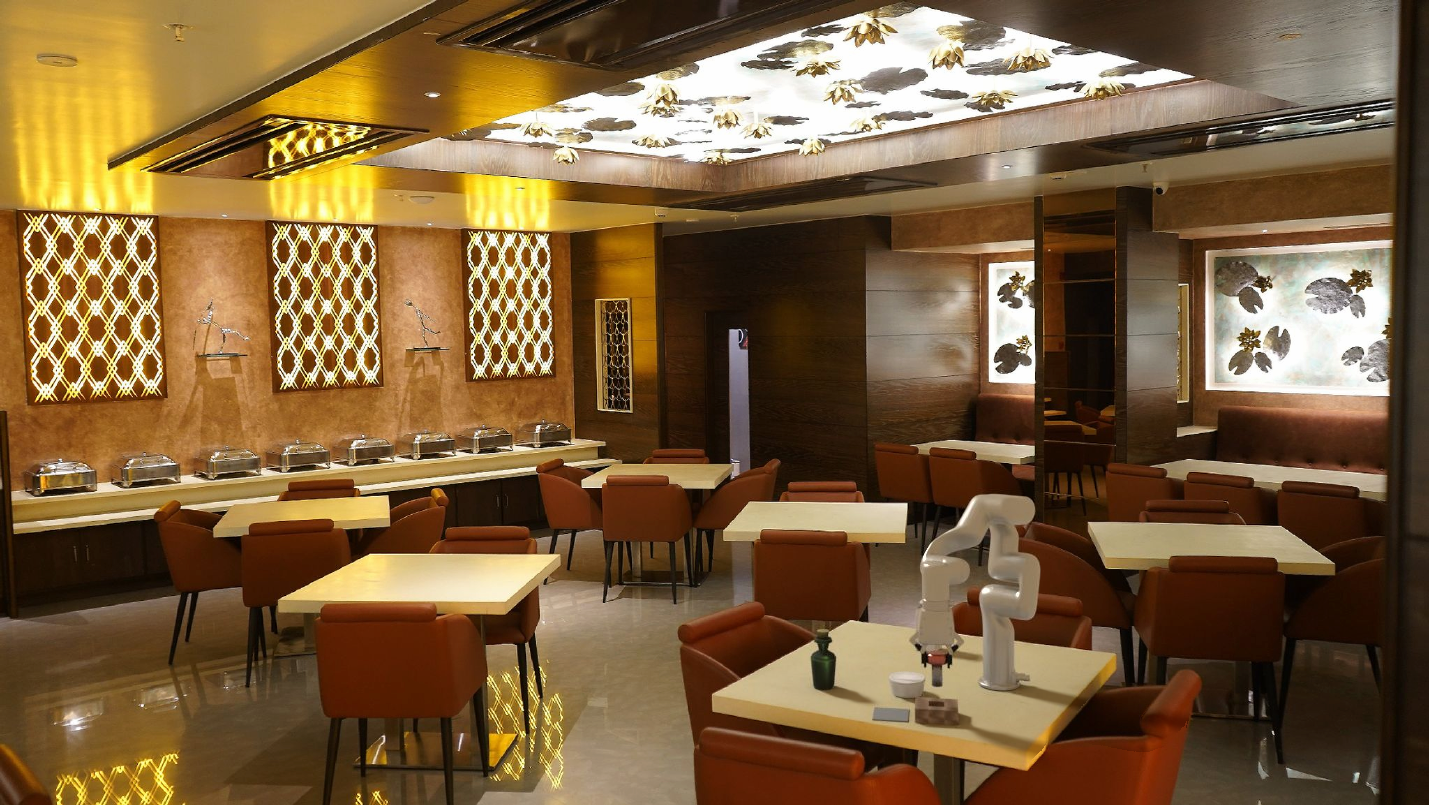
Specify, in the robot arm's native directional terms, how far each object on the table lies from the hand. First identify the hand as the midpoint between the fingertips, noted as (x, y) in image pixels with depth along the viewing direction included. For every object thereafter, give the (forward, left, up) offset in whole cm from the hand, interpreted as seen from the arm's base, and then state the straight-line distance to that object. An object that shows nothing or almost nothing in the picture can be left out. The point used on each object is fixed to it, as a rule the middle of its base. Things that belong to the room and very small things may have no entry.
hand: (936, 666), depth 294 cm
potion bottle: (+35, -22, -15) cm, 44 cm away
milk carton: (+3, -69, -15) cm, 70 cm away
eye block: (0, 0, -15) cm, 15 cm away
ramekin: (+9, -20, -15) cm, 26 cm away
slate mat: (+13, 0, -15) cm, 20 cm away
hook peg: (0, 0, -6) cm, 6 cm away
